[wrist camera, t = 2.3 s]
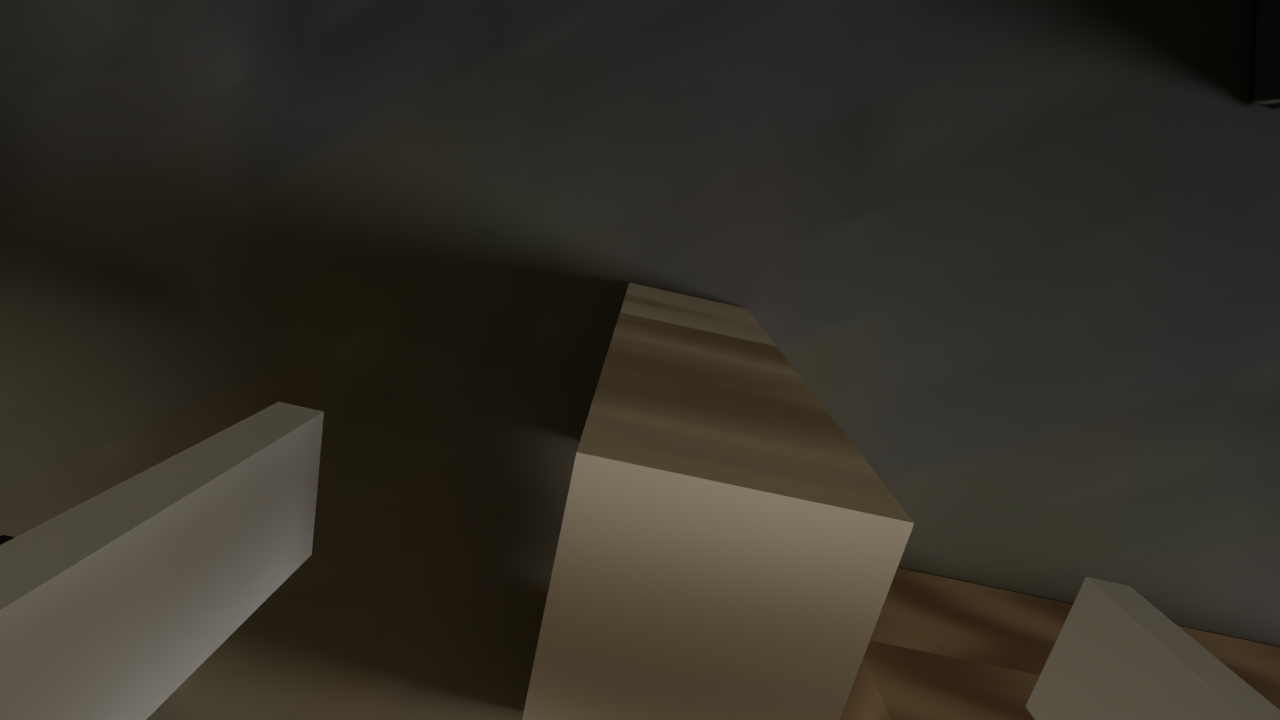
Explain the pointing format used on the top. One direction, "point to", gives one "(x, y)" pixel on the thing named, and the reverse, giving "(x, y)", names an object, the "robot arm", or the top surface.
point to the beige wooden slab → (711, 534)
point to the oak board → (987, 653)
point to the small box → (1267, 54)
